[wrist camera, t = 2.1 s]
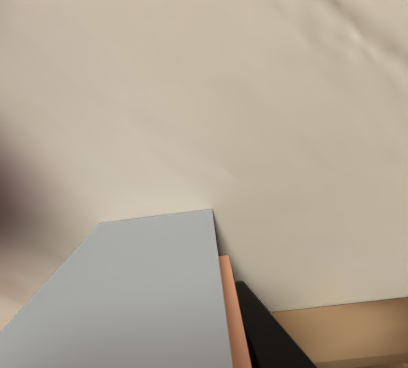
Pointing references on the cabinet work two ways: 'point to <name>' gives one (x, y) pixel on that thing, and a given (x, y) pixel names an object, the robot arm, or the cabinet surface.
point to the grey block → (134, 302)
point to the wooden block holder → (351, 333)
